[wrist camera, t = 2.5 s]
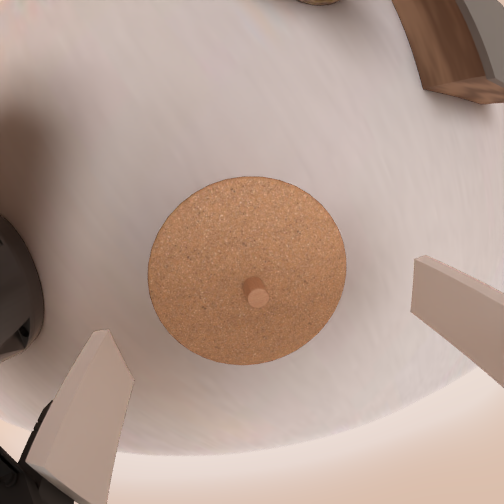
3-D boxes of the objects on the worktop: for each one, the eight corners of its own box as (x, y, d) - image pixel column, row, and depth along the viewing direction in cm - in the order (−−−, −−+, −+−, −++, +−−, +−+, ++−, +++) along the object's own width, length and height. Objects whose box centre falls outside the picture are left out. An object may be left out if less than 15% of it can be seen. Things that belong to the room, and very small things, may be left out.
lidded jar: (151, 197, 19) (107, 216, 10) (288, 163, 20) (348, 157, 11) (190, 321, 22) (186, 401, 13) (311, 288, 23) (364, 348, 14)
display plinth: (421, 93, 20) (495, 78, 10) (384, -10, 15) (434, -45, 6) (483, 108, 21) (540, 106, 12) (455, 20, 17) (502, 5, 7)
